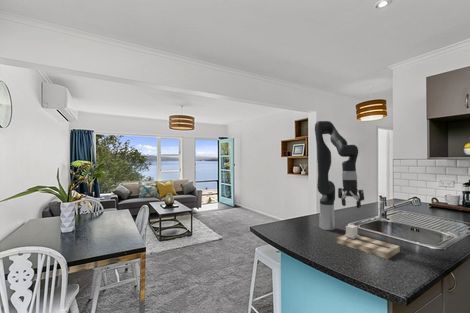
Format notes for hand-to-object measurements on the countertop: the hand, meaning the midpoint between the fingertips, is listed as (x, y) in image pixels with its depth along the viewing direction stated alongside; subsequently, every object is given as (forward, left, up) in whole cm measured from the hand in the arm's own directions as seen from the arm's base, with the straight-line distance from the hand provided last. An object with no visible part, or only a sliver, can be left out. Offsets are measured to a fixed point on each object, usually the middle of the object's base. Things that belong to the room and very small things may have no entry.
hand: (351, 206), depth 128 cm
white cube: (0, -1, -17) cm, 17 cm away
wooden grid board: (+8, -1, -21) cm, 22 cm away
